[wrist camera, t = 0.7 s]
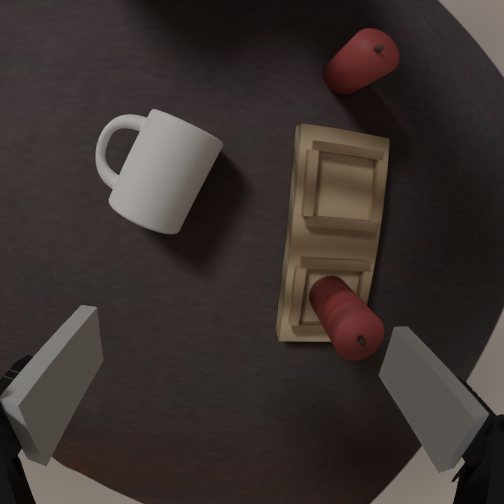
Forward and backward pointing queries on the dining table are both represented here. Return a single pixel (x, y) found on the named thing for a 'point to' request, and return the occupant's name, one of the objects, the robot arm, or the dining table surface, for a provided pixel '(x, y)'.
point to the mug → (158, 169)
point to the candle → (361, 62)
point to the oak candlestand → (333, 240)
